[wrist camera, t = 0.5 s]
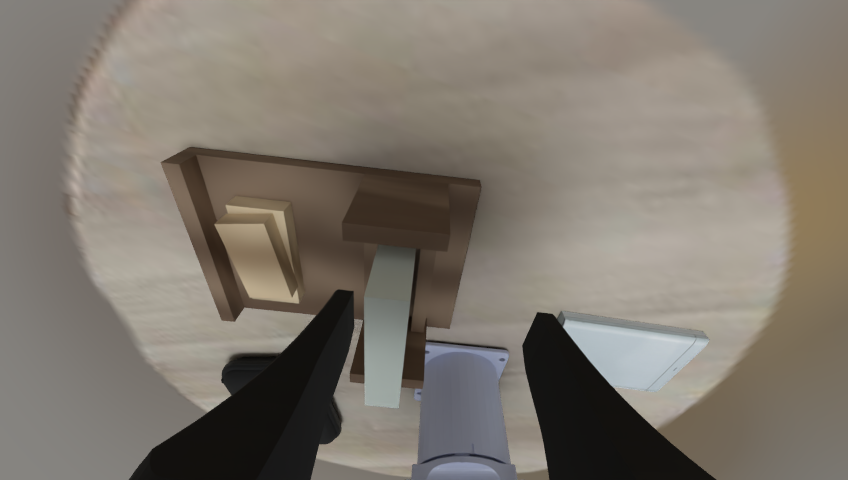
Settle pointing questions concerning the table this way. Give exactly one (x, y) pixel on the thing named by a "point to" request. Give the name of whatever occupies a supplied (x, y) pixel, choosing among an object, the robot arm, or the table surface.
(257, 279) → the offcut stack
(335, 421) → the carrying case or bag
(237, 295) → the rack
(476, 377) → the robot arm
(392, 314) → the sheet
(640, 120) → the table surface
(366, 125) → the table surface
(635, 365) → the hard drive
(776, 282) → the table surface
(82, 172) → the table surface
